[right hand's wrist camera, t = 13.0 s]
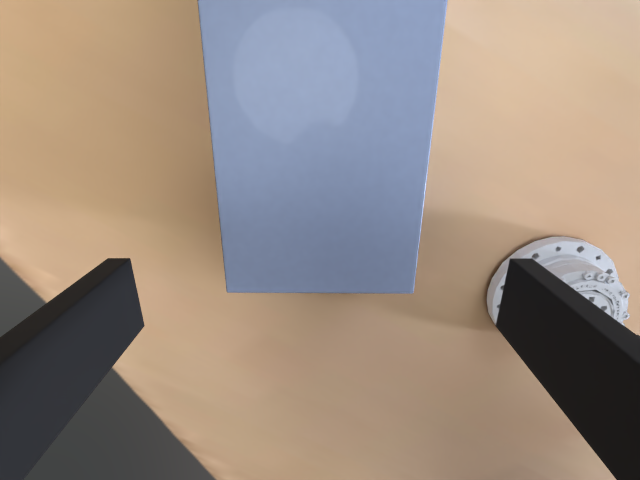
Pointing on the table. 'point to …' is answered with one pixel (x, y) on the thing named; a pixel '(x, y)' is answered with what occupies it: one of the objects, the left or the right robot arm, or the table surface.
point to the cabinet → (321, 139)
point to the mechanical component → (570, 274)
